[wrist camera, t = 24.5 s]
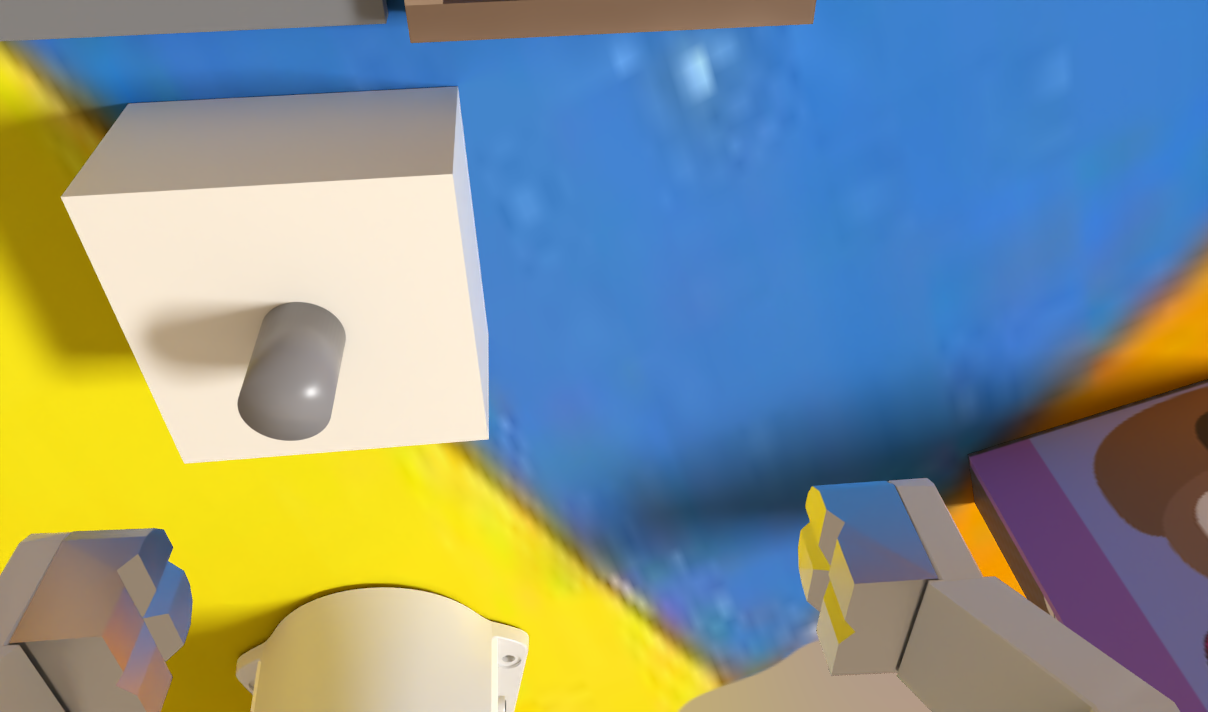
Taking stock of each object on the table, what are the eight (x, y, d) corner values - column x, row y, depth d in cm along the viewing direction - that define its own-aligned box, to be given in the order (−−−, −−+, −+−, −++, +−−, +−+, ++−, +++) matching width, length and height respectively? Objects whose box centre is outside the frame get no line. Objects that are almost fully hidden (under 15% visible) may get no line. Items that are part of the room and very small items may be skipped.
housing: (488, 334, 42) (488, 513, 34) (222, 353, 42) (156, 541, 33) (457, 86, 34) (448, 240, 26) (128, 103, 34) (9, 268, 25)
